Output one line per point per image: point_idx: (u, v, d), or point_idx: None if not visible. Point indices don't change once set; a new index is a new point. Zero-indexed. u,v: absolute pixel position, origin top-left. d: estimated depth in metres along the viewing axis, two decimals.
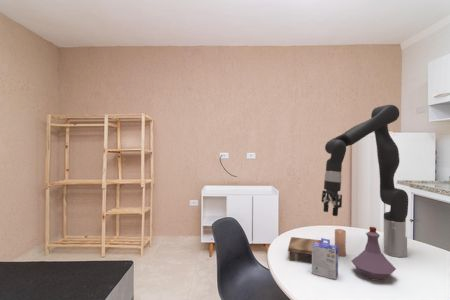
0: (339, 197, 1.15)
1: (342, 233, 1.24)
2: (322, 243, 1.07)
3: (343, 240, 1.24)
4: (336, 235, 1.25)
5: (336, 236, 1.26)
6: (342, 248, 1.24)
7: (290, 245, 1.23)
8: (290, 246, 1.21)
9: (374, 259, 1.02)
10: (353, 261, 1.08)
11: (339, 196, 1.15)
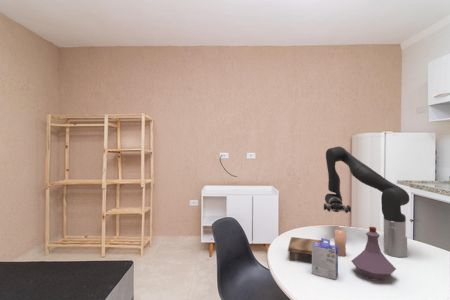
0: None
1: (342, 233, 1.24)
2: (322, 243, 1.07)
3: (343, 240, 1.24)
4: (336, 235, 1.25)
5: (336, 236, 1.26)
6: (342, 248, 1.24)
7: (290, 245, 1.23)
8: (290, 246, 1.21)
9: (374, 259, 1.02)
10: (353, 261, 1.08)
11: None
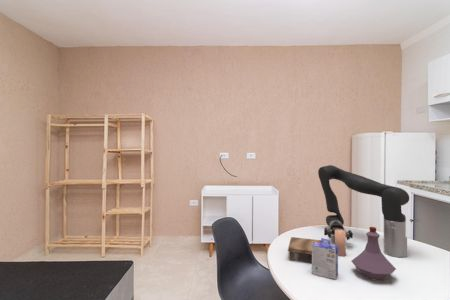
0: None
1: (342, 233, 1.24)
2: (322, 243, 1.07)
3: (343, 240, 1.24)
4: (336, 235, 1.25)
5: (336, 236, 1.26)
6: (342, 248, 1.24)
7: (290, 245, 1.23)
8: (290, 246, 1.21)
9: (374, 259, 1.02)
10: (353, 261, 1.08)
11: None
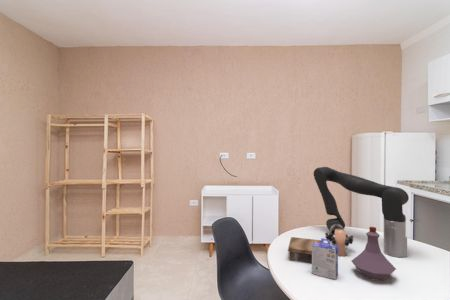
0: (325, 235, 1.34)
1: (342, 233, 1.24)
2: (322, 243, 1.07)
3: (343, 240, 1.24)
4: (336, 235, 1.25)
5: (336, 236, 1.26)
6: (342, 248, 1.24)
7: (290, 245, 1.23)
8: (290, 246, 1.21)
9: (374, 259, 1.02)
10: (353, 261, 1.08)
11: (325, 235, 1.35)
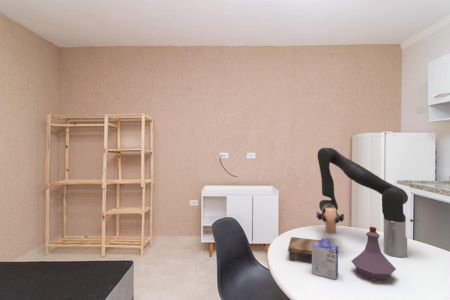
0: None
1: (332, 210, 1.24)
2: (322, 243, 1.07)
3: (333, 217, 1.24)
4: (326, 213, 1.25)
5: (326, 214, 1.26)
6: (332, 225, 1.24)
7: (290, 245, 1.23)
8: (290, 246, 1.21)
9: (374, 259, 1.02)
10: (353, 261, 1.08)
11: None
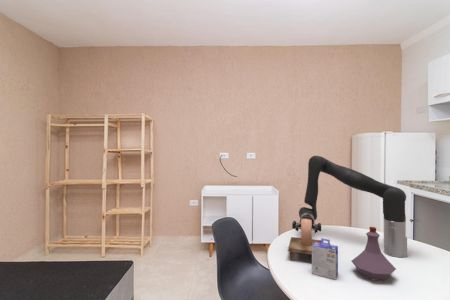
0: None
1: (307, 222, 1.22)
2: (322, 243, 1.07)
3: (309, 229, 1.22)
4: (302, 224, 1.23)
5: (301, 225, 1.24)
6: (308, 237, 1.22)
7: (290, 245, 1.23)
8: (290, 246, 1.21)
9: (374, 259, 1.02)
10: (353, 261, 1.08)
11: None
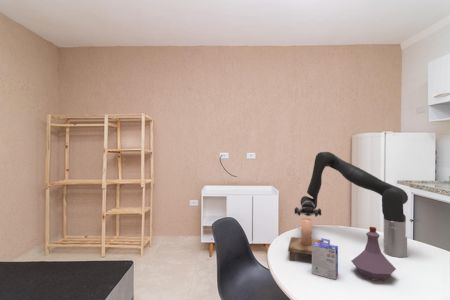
0: None
1: (308, 222, 1.22)
2: (322, 243, 1.07)
3: (309, 229, 1.22)
4: (302, 224, 1.23)
5: (302, 225, 1.24)
6: (308, 237, 1.22)
7: (290, 245, 1.23)
8: (290, 246, 1.21)
9: (374, 259, 1.02)
10: (353, 261, 1.08)
11: None
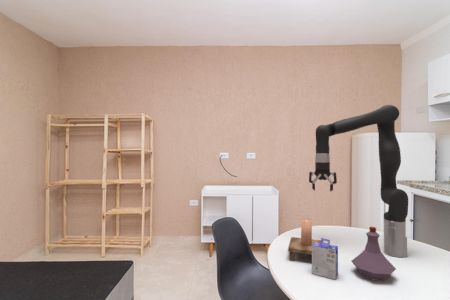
0: (309, 173, 1.41)
1: (308, 222, 1.22)
2: (322, 243, 1.07)
3: (309, 229, 1.22)
4: (302, 224, 1.23)
5: (302, 225, 1.24)
6: (308, 237, 1.22)
7: (290, 245, 1.23)
8: (290, 246, 1.21)
9: (374, 259, 1.02)
10: (353, 261, 1.08)
11: (309, 173, 1.41)
